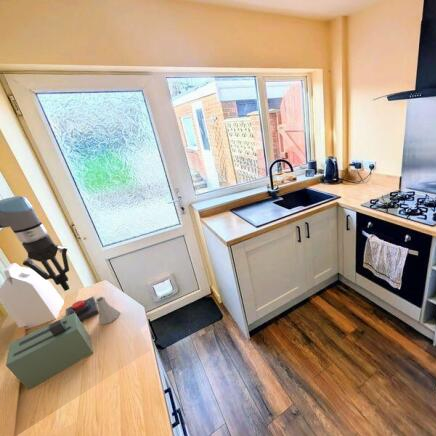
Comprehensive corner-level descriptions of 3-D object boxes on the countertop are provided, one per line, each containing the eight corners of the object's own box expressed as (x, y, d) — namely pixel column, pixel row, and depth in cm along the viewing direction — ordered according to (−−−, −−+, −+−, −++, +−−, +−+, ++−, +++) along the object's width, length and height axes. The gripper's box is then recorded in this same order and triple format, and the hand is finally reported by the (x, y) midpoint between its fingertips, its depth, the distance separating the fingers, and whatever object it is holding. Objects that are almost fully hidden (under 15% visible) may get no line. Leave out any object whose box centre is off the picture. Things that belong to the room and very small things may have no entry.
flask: (95, 323, 100) (84, 305, 96) (110, 310, 106) (100, 292, 102) (109, 325, 98) (98, 307, 94) (124, 311, 104) (114, 293, 100)
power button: (73, 307, 105) (71, 304, 104) (84, 302, 107) (82, 298, 106) (74, 311, 102) (72, 308, 101) (85, 306, 104) (83, 303, 104)
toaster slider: (54, 332, 81) (48, 325, 80) (65, 327, 83) (60, 319, 81) (54, 336, 80) (48, 329, 78) (66, 331, 81) (60, 323, 80)
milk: (33, 312, 110) (-2, 264, 99) (64, 301, 115) (34, 255, 104) (21, 331, 100) (-20, 280, 89) (56, 318, 105) (21, 269, 94)
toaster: (30, 366, 84) (9, 342, 79) (89, 335, 94) (74, 312, 89) (28, 390, 77) (5, 365, 72) (93, 353, 87) (77, 328, 82)
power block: (68, 312, 107) (63, 305, 106) (95, 300, 113) (91, 293, 112) (69, 327, 99) (64, 320, 97) (99, 313, 105) (95, 306, 103)
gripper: (8, 249, 83) (45, 302, 93) (58, 234, 90) (87, 284, 100) (11, 242, 88) (46, 293, 98) (57, 228, 96) (85, 276, 106)
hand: (66, 288), depth 99 cm, fingers closed
